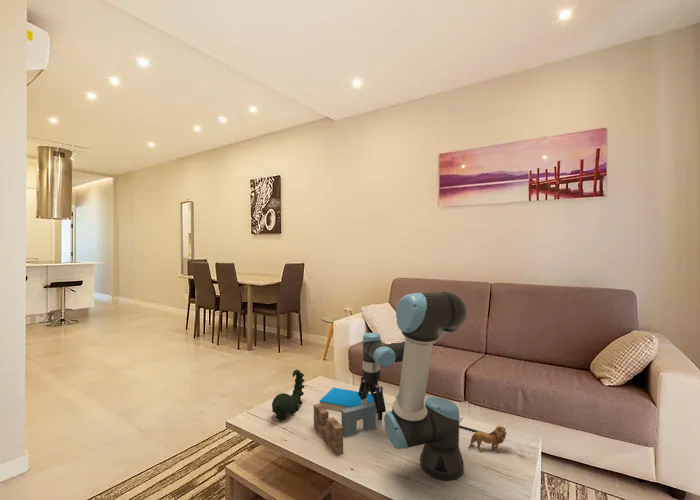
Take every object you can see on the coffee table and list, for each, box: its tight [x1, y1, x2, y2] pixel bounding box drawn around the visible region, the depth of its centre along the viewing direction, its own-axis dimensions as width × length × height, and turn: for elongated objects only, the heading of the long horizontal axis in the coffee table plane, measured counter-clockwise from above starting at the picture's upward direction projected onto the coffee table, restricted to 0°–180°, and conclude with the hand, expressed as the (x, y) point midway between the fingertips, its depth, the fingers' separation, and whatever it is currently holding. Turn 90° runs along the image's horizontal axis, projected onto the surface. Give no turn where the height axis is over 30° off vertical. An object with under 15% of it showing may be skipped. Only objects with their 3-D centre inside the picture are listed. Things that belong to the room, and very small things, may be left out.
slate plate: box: [341, 402, 377, 438], centre depth 150 cm, size 16×3×10 cm, turn 118°
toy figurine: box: [271, 369, 306, 422], centre depth 164 cm, size 9×19×25 cm
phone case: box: [459, 417, 498, 433], centre depth 152 cm, size 9×2×16 cm
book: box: [318, 387, 374, 413], centre depth 173 cm, size 17×4×25 cm
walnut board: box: [313, 403, 344, 456], centre depth 143 cm, size 22×3×10 cm, turn 28°
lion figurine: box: [467, 425, 507, 454], centre depth 136 cm, size 15×5×9 cm, turn 92°
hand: (371, 420), depth 152 cm, fingers open, 11 cm apart
